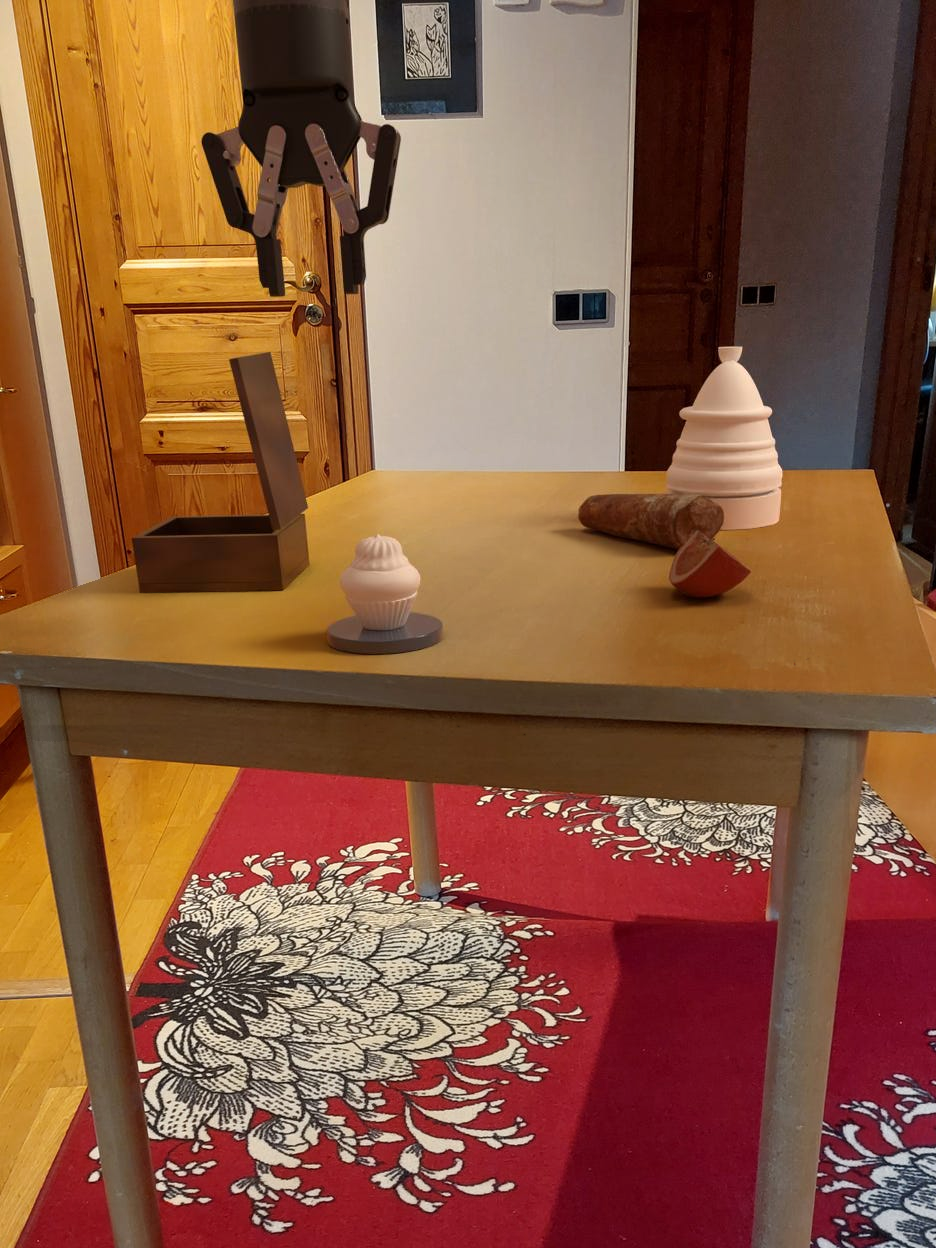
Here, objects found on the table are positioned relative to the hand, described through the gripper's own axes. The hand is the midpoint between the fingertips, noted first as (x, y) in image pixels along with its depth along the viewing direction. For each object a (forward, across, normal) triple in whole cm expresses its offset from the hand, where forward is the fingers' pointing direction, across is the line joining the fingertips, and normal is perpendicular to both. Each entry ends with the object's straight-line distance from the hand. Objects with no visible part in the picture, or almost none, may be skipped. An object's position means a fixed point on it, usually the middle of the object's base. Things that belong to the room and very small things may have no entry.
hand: (314, 294), depth 85 cm
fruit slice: (+25, +30, +9) cm, 40 cm away
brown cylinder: (+25, +25, +34) cm, 49 cm away
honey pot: (+25, +35, +46) cm, 63 cm away
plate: (+24, +4, -4) cm, 25 cm away
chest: (+24, -15, +19) cm, 34 cm away
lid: (+12, -9, +19) cm, 24 cm away
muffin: (+24, +4, -4) cm, 24 cm away
